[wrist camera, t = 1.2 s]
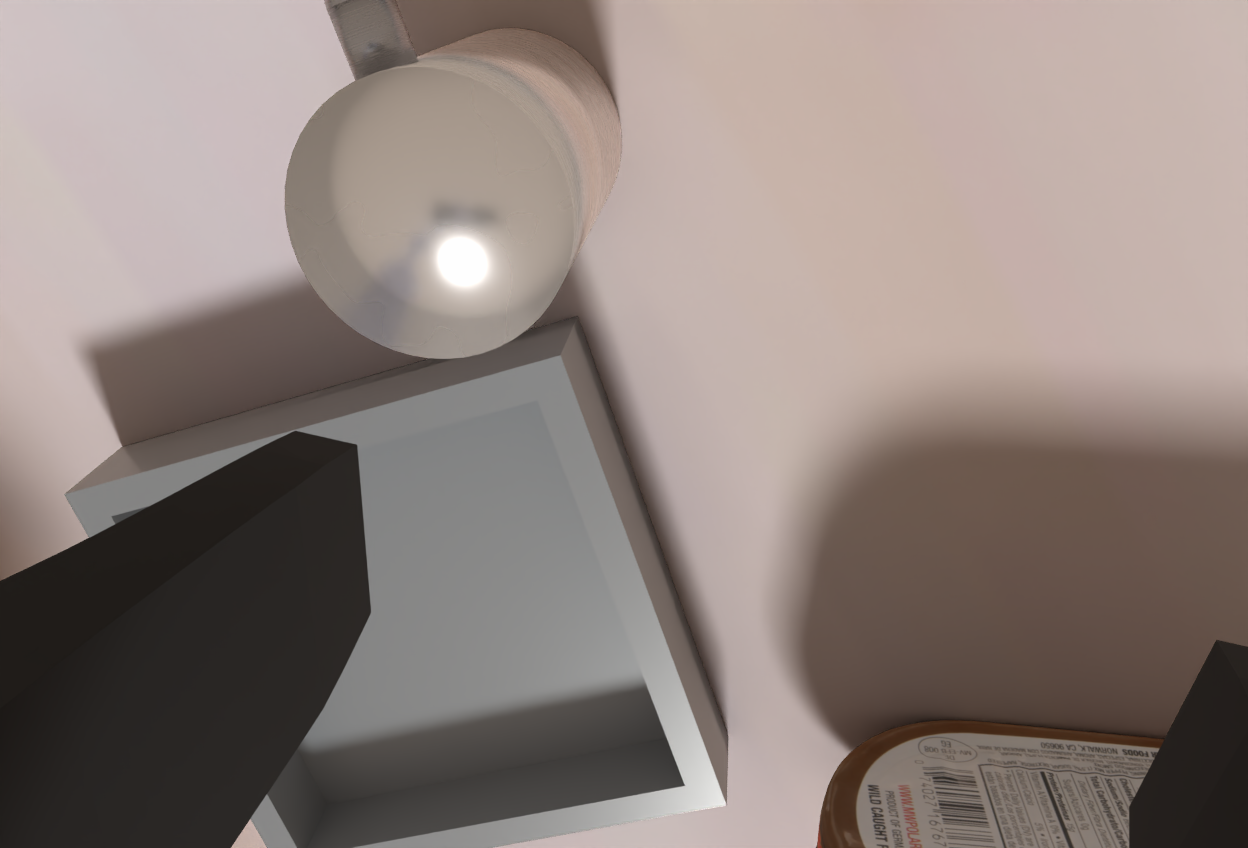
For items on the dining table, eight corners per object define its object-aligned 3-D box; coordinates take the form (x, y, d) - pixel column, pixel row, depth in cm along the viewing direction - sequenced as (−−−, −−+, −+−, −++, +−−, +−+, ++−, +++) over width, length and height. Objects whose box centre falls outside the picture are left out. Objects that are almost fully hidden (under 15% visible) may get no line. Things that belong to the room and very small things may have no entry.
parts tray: (321, 815, 32) (287, 884, 29) (121, 447, 27) (64, 494, 25) (728, 737, 29) (726, 805, 27) (577, 316, 25) (560, 355, 22)
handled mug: (457, 270, 25) (355, 389, 18) (347, -8, 22) (189, 16, 16) (649, 212, 24) (613, 316, 17) (554, -85, 21) (472, -90, 15)
